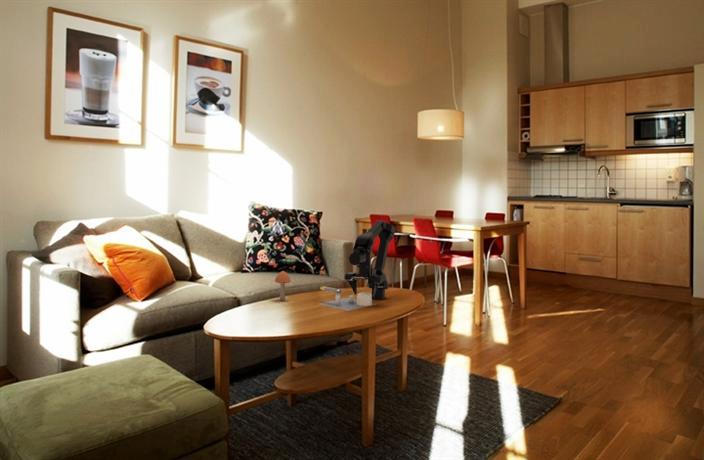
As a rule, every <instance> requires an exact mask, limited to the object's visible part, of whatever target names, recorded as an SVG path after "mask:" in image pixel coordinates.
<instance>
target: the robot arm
mask: <svg viewBox="0 0 704 460" xmlns="http://www.w3.org/2000/svg"><path fill="white" fill-rule="evenodd" d="M395 234H396V227H395V226H394V225H393V224H391V223H388V222H386V221H385V220H376V221H374V223H373V225H372V226H371V227H370V228H369V229H368V230H367V231H366V232H364V233H361V234H359V235H358V236H357V238H356V239H355V242H354V245H353V247H352V253H351V254H350V255H349V257H348V260H349V263H350V264H351V265H352V266H357V268H358V273H357V272H352V271H349V272H346V273H345V274H344V279H343V280H346V282H348V285H350V287H351V289H352V291H353V293H354V296H356V295H358V292H357V291H358V289H357V283H358V280H367V284H368V288H369V289H371V293H372V300H374V301H376V300H384V299H385V298H386V290H389V282H388V280H387V274H386V271H385V267H386V260H387V256H388V250H389V246H390V242H391V241H392V240H393V239H394V237H395ZM377 237H378V239H379V243H378V248H377V253H376V258H375V262H374V263H375V264H374V267H373V264H371V263H372V261H371V260H372V259H371V258H372V256H371V255H372V253H373V250H372V249H373V246H374V245H375V239H376V238H377Z"/></svg>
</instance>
